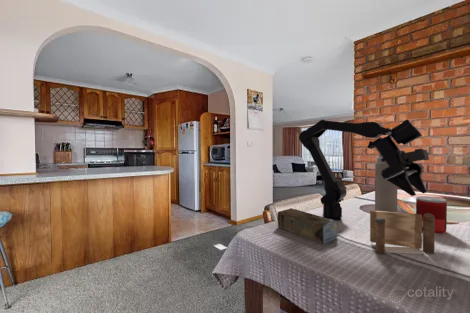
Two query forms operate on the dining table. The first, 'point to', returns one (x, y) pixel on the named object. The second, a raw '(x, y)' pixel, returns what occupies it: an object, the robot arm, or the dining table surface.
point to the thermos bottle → (384, 190)
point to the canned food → (433, 211)
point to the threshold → (403, 250)
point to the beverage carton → (308, 225)
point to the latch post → (380, 235)
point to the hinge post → (428, 233)
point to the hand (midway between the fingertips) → (419, 194)
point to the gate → (398, 228)
